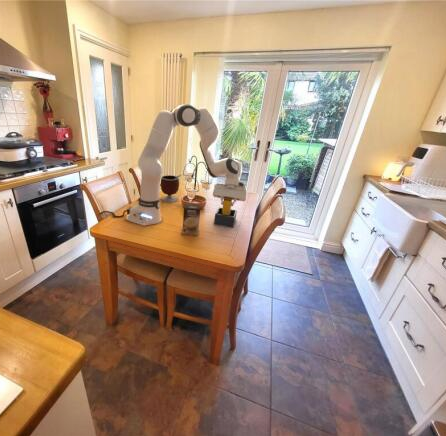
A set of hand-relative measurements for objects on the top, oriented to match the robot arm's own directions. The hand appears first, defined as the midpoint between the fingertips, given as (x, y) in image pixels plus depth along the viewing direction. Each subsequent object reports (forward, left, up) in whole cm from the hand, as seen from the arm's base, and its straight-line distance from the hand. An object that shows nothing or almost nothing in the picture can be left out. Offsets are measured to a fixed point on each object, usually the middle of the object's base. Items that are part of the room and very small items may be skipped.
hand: (227, 205), depth 141 cm
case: (0, +1, -12) cm, 12 cm away
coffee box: (-16, -21, -12) cm, 29 cm away
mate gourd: (-46, +24, -12) cm, 53 cm away
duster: (0, +1, -6) cm, 6 cm away
